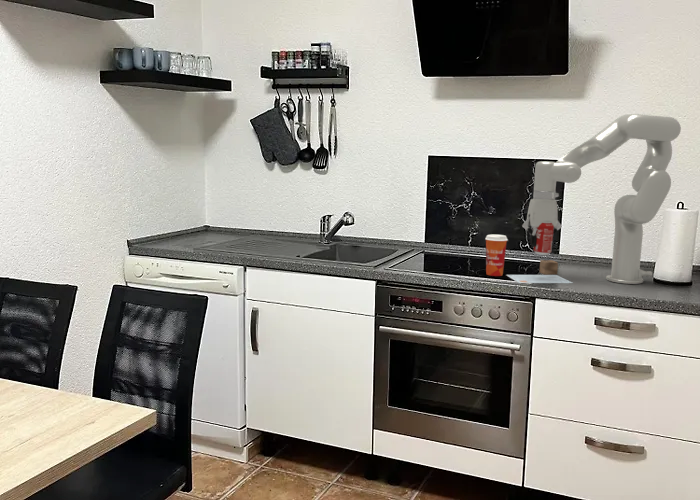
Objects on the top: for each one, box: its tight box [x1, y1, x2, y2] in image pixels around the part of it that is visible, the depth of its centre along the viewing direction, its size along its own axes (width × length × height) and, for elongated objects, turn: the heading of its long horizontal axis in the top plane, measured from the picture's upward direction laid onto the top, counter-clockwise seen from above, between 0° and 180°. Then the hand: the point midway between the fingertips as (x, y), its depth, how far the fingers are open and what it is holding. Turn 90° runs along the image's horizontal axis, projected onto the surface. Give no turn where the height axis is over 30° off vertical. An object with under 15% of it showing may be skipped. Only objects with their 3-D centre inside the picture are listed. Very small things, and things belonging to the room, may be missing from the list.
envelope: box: [505, 274, 573, 284], centre depth 254 cm, size 20×15×1 cm
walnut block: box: [539, 259, 559, 275], centre depth 266 cm, size 5×5×5 cm
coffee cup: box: [484, 233, 509, 277], centre depth 260 cm, size 8×8×15 cm
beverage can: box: [533, 222, 554, 256], centre depth 252 cm, size 6×6×12 cm
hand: (540, 245), depth 253 cm, fingers closed on beverage can, 4 cm apart
